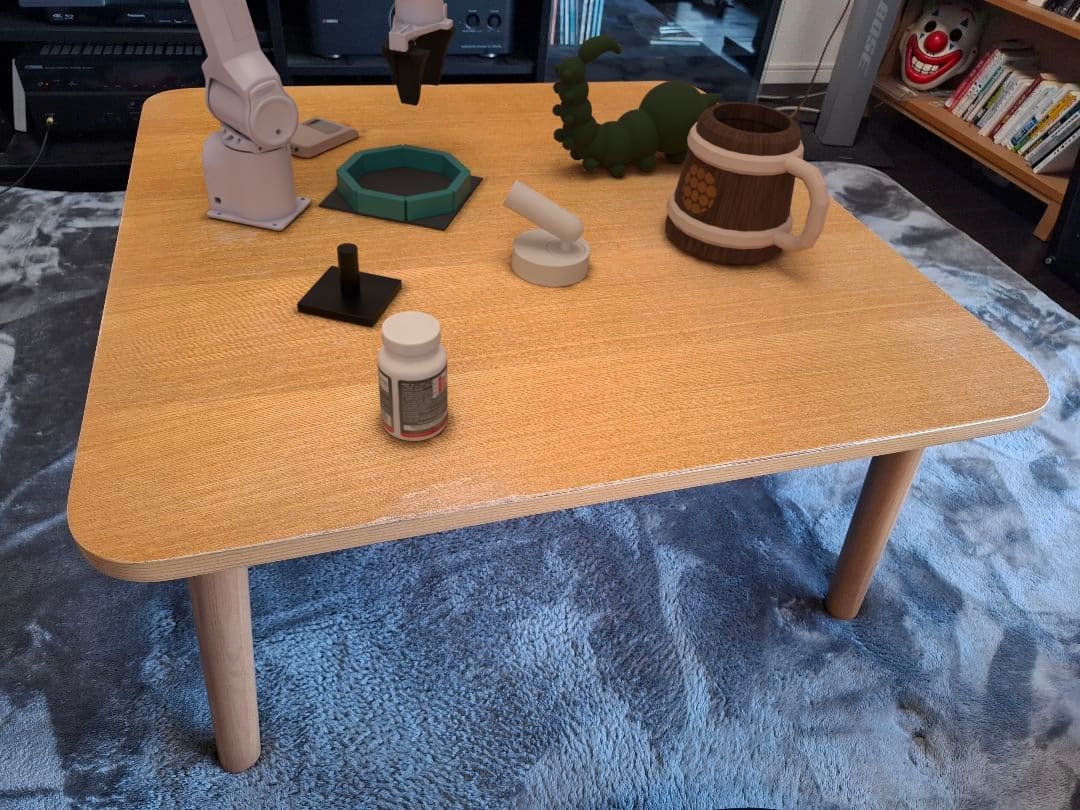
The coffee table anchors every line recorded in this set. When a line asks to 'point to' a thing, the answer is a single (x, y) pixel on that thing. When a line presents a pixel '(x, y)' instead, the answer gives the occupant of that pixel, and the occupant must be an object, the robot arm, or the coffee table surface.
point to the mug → (744, 187)
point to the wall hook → (547, 240)
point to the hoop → (402, 205)
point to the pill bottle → (412, 376)
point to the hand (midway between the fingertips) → (420, 93)
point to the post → (350, 291)
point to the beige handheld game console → (319, 136)
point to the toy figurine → (624, 117)
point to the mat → (402, 191)
